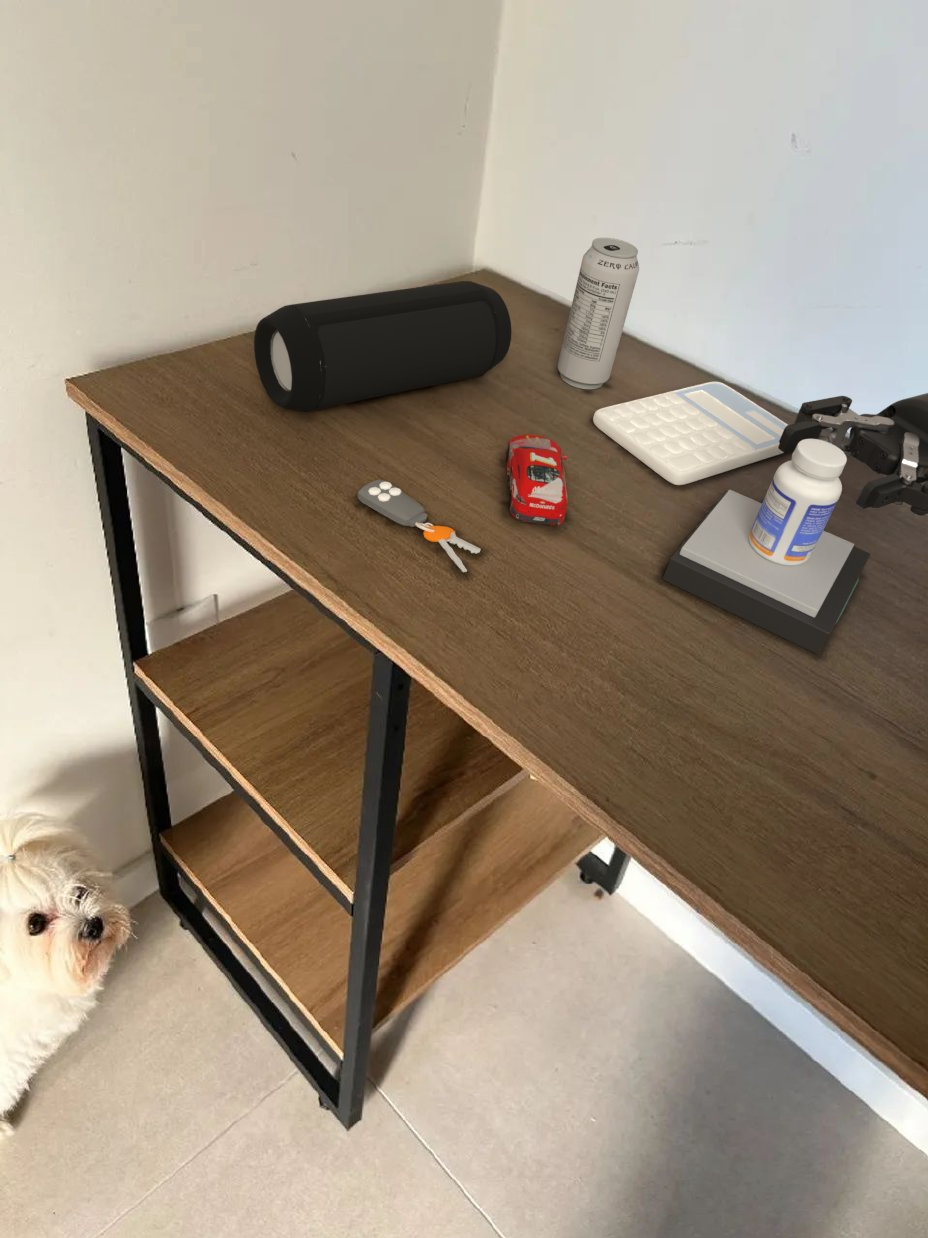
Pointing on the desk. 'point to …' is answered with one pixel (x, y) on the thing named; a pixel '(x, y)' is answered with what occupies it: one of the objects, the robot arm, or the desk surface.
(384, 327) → the portable speaker
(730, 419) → the calculator
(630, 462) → the desk surface
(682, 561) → the scale
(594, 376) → the energy drink can
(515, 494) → the race car
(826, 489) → the pill bottle
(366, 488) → the key chain
